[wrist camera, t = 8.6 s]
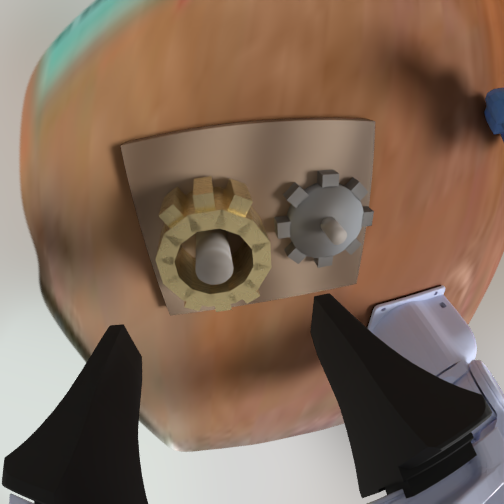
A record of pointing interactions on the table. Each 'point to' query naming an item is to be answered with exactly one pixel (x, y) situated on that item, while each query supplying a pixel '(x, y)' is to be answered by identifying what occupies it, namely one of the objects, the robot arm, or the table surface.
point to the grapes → (495, 111)
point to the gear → (207, 218)
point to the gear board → (265, 197)
